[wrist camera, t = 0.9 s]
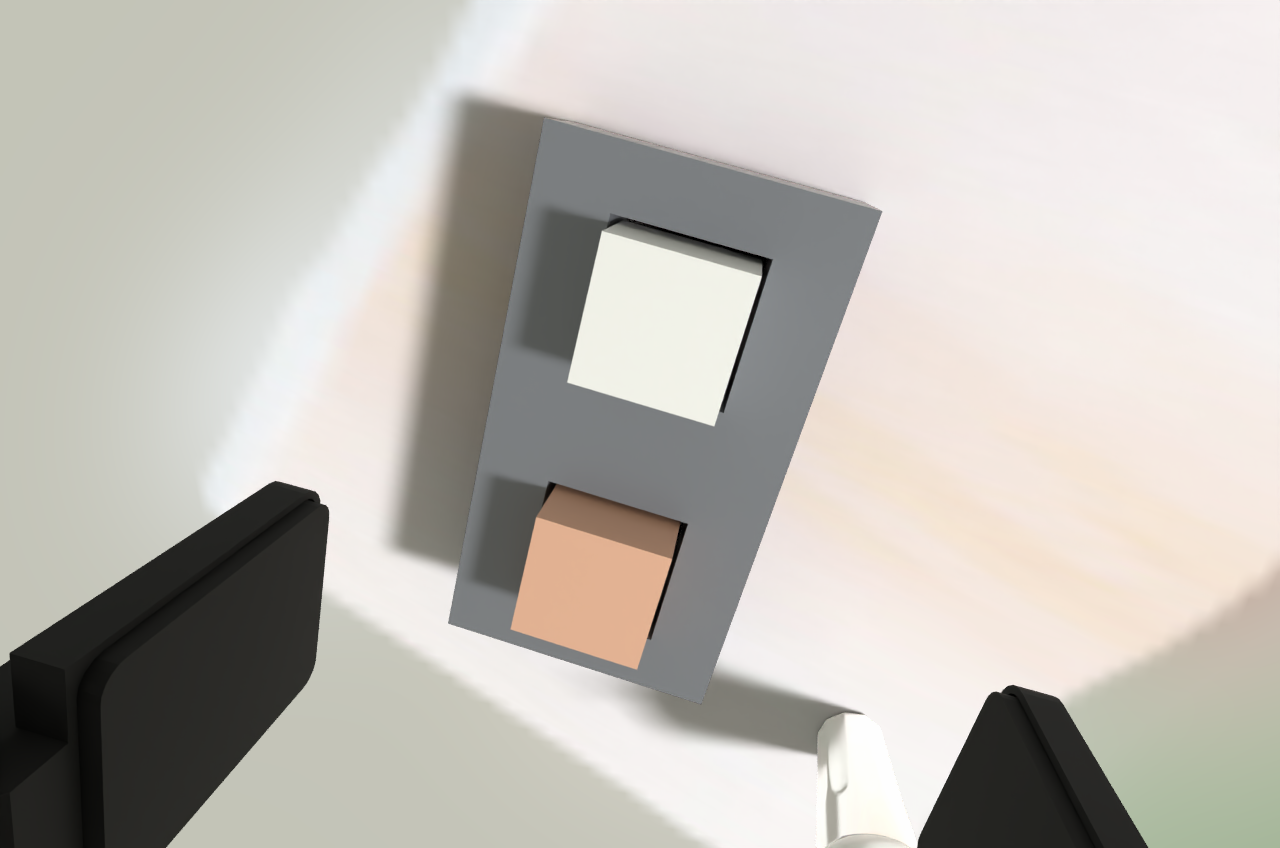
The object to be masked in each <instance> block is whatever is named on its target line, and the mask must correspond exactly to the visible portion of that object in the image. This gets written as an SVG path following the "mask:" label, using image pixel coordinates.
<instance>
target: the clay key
mask: <svg viewBox="0 0 1280 848" xmlns="http://www.w3.org/2000/svg"><path fill="white" fill-rule="evenodd" d="M680 522H681V521H677V520H674V519H671V518H667V517H664V516H661V515H658V514H654V513H651V512H648V511H645V510H641V509H638V508H635V507H632V506H628V505H625V504H622V503H618V502H615V501H612V500H609V499H605V498H602V497H599V496H596V495H592V494H589V493H586V492H583V491H579V490H576V489H573V488H570V487H566V486H563V485H560V484H557V485H556V486H555V488H554V489H553V491H552V493H551V494H550V496H549V497H548V499H547V501H546V502H545V504H544V505H543V507H542V509H541V510H540V512H539V513H538V515H537V517H536V520H535V525H534V529H533V533H532V538H531V542H530V546H529V551H528V555H527V560H526V564H525V568H524V573H523V577H522V581H521V586H520V590H519V594H518V599H517V603H516V607H515V612H514V616H513V621H512V625H511V630H514V631H517V632H520V633H523V634H526V635H530V636H533V637H536V638H539V639H542V640H545V641H548V642H552V643H555V644H558V645H561V646H564V647H567V648H570V649H574V650H577V651H580V652H583V653H586V654H589V655H592V656H595V657H599V658H602V659H605V660H608V661H611V662H614V663H617V664H621V665H624V666H627V667H630V668H633V669H636V670H637V668H638V665H639V662H640V659H641V656H642V652H643V649H644V646H645V643H646V640H647V637H648V633H649V630H650V627H651V624H652V621H653V618H654V615H655V611H656V608H657V605H658V602H659V599H660V596H661V593H662V589H663V586H664V583H665V580H666V577H667V574H668V570H669V567H670V564H671V561H672V557H673V553H674V549H675V544H676V540H677V535H678V531H679V527H680Z"/></svg>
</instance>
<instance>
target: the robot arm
mask: <svg viewBox="0 0 1280 848" xmlns="http://www.w3.org/2000/svg"><path fill="white" fill-rule="evenodd" d="M328 524H329V510H328V507H327V506H326V505H323V504H320V498H319V495H318V494H317V493H316V492H315V491H311V490H308V489H304V488H301V487H297V486H293V485H290V484H286V483H282V482H277V481H274V482H272V483H270V484H268V485H266V486H265V487H263V488H262V489H260V490H259V491H257V492H256V493H254V494H253V495H251V496H250V497H248V498H247V499H245V500H243V501H242V502H240V503H239V504H237V505H236V506H234V507H233V508H231V509H230V510H228V511H227V512H225V513H224V514H222V515H220V516H219V517H217V518H216V519H214V520H213V521H211V522H210V523H208V524H207V525H205V526H204V527H202V528H201V529H199V530H198V531H196V532H195V533H193V534H191V535H190V536H188V537H187V538H185V539H184V540H182V541H181V542H179V543H178V544H176V545H175V546H173V547H172V548H170V549H168V550H167V551H165V552H164V553H162V554H161V555H159V556H158V557H156V558H155V559H153V560H152V561H150V562H149V563H147V564H145V565H144V566H142V567H141V568H139V569H138V570H136V571H135V572H133V573H132V574H130V575H129V576H127V577H125V578H124V579H122V580H121V581H119V582H118V583H116V584H115V585H114V586H112V587H110V588H109V589H107V590H106V591H104V592H103V593H101V594H100V595H98V596H96V597H95V598H93V599H92V600H90V601H89V602H87V603H86V604H84V605H83V606H81V607H79V608H78V609H77V610H75V611H73V612H72V613H70V614H69V615H67V616H66V617H64V618H63V619H61V620H60V621H58V622H56V623H55V624H53V625H52V626H51V627H49V628H48V629H46V630H44V631H43V632H41V633H40V634H38V635H37V636H35V637H33V638H32V639H30V640H29V641H27V642H26V643H24V644H23V645H22V646H20V647H18V648H17V649H15V650H14V651H12V652H10V660H9V661H8V662H6V663H5V664H3V665H2V666H0V848H166V847H167V846H168V845H169V843H170V842H171V841H172V840H173V838H175V836H176V835H177V834H178V833H179V832H180V831H181V829H182V828H183V827H184V826H185V825H186V824H187V822H188V821H189V820H190V819H191V818H192V817H193V815H194V814H195V813H196V812H197V811H198V810H199V808H200V807H201V806H202V805H203V804H204V803H205V801H206V800H207V799H208V798H209V797H210V796H211V795H212V793H213V792H214V791H215V790H216V789H217V788H218V786H219V785H220V784H221V783H222V781H224V779H225V778H226V777H227V776H228V775H229V774H230V772H231V771H232V770H233V769H234V768H235V767H236V766H237V764H238V763H239V762H240V760H242V758H243V757H244V756H245V755H246V754H247V753H248V751H249V750H250V749H251V748H252V747H253V746H254V745H255V743H256V742H257V741H258V740H259V739H260V738H261V736H262V735H263V734H264V733H265V732H266V730H267V729H268V728H269V727H270V726H271V725H272V724H273V722H274V721H275V720H276V719H277V718H278V717H279V716H280V714H281V713H282V712H283V711H284V710H285V708H286V707H287V706H288V705H289V704H290V703H291V702H292V700H293V699H294V698H295V697H296V696H297V694H298V693H299V692H300V691H301V690H302V689H303V687H304V686H305V685H306V683H307V682H308V680H309V678H310V676H311V674H312V671H313V669H314V665H315V661H316V652H317V642H318V630H319V620H320V610H321V599H322V588H323V577H324V567H325V556H326V545H327V535H328ZM917 848H1148V846H1147V845H1146V843H1145V841H1144V840H1143V838H1142V836H1141V835H1140V833H1139V831H1138V830H1137V828H1136V826H1135V825H1134V823H1133V821H1132V820H1131V818H1130V816H1129V815H1128V813H1127V811H1126V810H1125V808H1124V806H1123V805H1122V803H1121V801H1120V799H1119V798H1118V796H1117V794H1116V793H1115V791H1114V789H1113V788H1112V786H1111V784H1110V783H1109V781H1108V779H1107V778H1106V776H1105V774H1104V773H1103V771H1102V769H1101V767H1100V766H1099V764H1098V762H1097V761H1096V759H1095V757H1094V756H1093V754H1092V752H1091V751H1090V749H1089V747H1088V745H1087V744H1086V742H1085V740H1084V739H1083V737H1082V735H1081V734H1080V732H1079V730H1078V729H1077V727H1076V725H1075V724H1074V722H1073V720H1072V719H1071V717H1070V715H1069V713H1068V712H1067V710H1066V708H1065V707H1064V705H1063V704H1062V702H1061V701H1060V700H1059V699H1058V698H1056V697H1054V696H1051V695H1047V694H1044V693H1040V692H1037V691H1033V690H1029V689H1026V688H1022V687H1019V686H1015V685H1011V686H1007V687H1006V688H1005V689H1004V690H1003V691H1002V693H999V692H992V693H991V694H990V695H989V696H988V698H987V699H986V701H985V703H984V705H983V707H982V709H981V711H980V713H979V715H978V717H977V719H976V721H975V723H974V725H973V727H972V729H971V732H970V734H969V736H968V738H967V740H966V742H965V744H964V746H963V748H962V750H961V752H960V754H959V756H958V758H957V760H956V762H955V764H954V766H953V768H952V770H951V773H950V775H949V777H948V779H947V781H946V783H945V785H944V787H943V789H942V791H941V793H940V795H939V797H938V799H937V801H936V803H935V805H934V807H933V809H932V811H931V814H930V816H929V818H928V820H927V822H926V824H925V826H924V828H923V830H922V832H921V834H920V837H919V840H918V845H917Z"/></svg>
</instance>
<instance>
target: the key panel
mask: <svg viewBox="0 0 1280 848" xmlns="http://www.w3.org/2000/svg"><path fill="white" fill-rule="evenodd" d="M881 213H882V211H881V210H879V209H877V208H875V207H873V206H871V205H869V204H867V203H865V202H861V201H858V200H854V199H851V198H847V197H843V196H840V195H836V194H833V193H829V192H825V191H822V190H818V189H815V188H811V187H807V186H804V185H800V184H797V183H793V182H789V181H786V180H782V179H779V178H775V177H771V176H768V175H764V174H761V173H757V172H753V171H750V170H746V169H743V168H739V167H735V166H732V165H728V164H725V163H721V162H717V161H714V160H710V159H707V158H703V157H699V156H696V155H692V154H689V153H685V152H681V151H678V150H674V149H670V148H667V147H663V146H660V145H656V144H652V143H649V142H645V141H642V140H638V139H634V138H631V137H627V136H624V135H620V134H616V133H613V132H609V131H606V130H602V129H598V128H595V127H591V126H588V125H584V124H580V123H577V122H572V121H565V120H558V119H552V118H545V117H544V121H543V126H542V131H541V137H540V142H539V147H538V152H537V158H536V163H535V168H534V173H533V179H532V184H531V189H530V195H529V200H528V205H527V210H526V216H525V221H524V226H523V231H522V237H521V242H520V247H519V253H518V258H517V263H516V268H515V274H514V279H513V284H512V289H511V295H510V300H509V305H508V311H507V316H506V321H505V326H504V332H503V337H502V342H501V347H500V353H499V358H498V363H497V369H496V374H495V379H494V384H493V390H492V395H491V400H490V405H489V411H488V416H487V421H486V426H485V432H484V437H483V442H482V448H481V453H480V458H479V463H478V469H477V474H476V479H475V484H474V490H473V495H472V500H471V506H470V511H469V516H468V521H467V527H466V532H465V537H464V542H463V548H462V553H461V558H460V564H459V569H458V574H457V579H456V585H455V590H454V595H453V600H452V606H451V611H450V616H449V622H448V624H451V625H455V626H458V627H461V628H464V629H467V630H470V631H473V632H476V633H480V634H483V635H486V636H489V637H492V638H495V639H498V640H501V641H505V642H508V643H511V644H514V645H517V646H520V647H523V648H526V649H530V650H533V651H536V652H539V653H542V654H545V655H548V656H551V657H555V658H558V659H561V660H564V661H567V662H570V663H573V664H576V665H580V666H583V667H586V668H589V669H592V670H595V671H598V672H601V673H605V674H608V675H611V676H614V677H617V678H620V679H623V680H626V681H630V682H633V683H636V684H639V685H642V686H645V687H648V688H651V689H655V690H658V691H661V692H664V693H667V694H670V695H673V696H676V697H680V698H683V699H686V700H689V701H692V702H695V703H698V704H701V703H702V701H703V698H704V695H705V693H706V690H707V687H708V684H709V682H710V679H711V676H712V674H713V671H714V668H715V665H716V663H717V660H718V657H719V654H720V652H721V649H722V646H723V644H724V641H725V638H726V635H727V633H728V630H729V627H730V625H731V622H732V619H733V616H734V614H735V611H736V608H737V605H738V603H739V600H740V597H741V595H742V592H743V589H744V586H745V584H746V581H747V578H748V576H749V573H750V570H751V567H752V565H753V562H754V559H755V556H756V554H757V551H758V548H759V546H760V543H761V540H762V537H763V535H764V532H765V529H766V527H767V524H768V521H769V518H770V516H771V513H772V510H773V507H774V505H775V502H776V499H777V497H778V494H779V491H780V488H781V486H782V483H783V480H784V478H785V475H786V472H787V469H788V467H789V464H790V461H791V458H792V456H793V453H794V450H795V448H796V445H797V442H798V439H799V437H800V434H801V431H802V429H803V426H804V423H805V420H806V418H807V415H808V412H809V409H810V407H811V404H812V401H813V399H814V396H815V393H816V390H817V388H818V385H819V382H820V380H821V377H822V374H823V371H824V369H825V366H826V363H827V360H828V358H829V355H830V352H831V350H832V347H833V344H834V341H835V339H836V336H837V333H838V331H839V328H840V325H841V322H842V320H843V317H844V314H845V311H846V309H847V306H848V303H849V301H850V298H851V295H852V292H853V290H854V287H855V284H856V282H857V279H858V276H859V273H860V271H861V268H862V265H863V262H864V260H865V257H866V254H867V252H868V249H869V246H870V243H871V241H872V238H873V235H874V233H875V230H876V227H877V224H878V222H879V219H880V216H881ZM628 218H629V219H632V220H636V221H639V222H643V223H646V224H650V225H653V226H657V227H660V228H664V229H668V230H671V231H675V232H678V233H682V234H685V235H689V236H692V237H696V238H699V239H703V240H706V241H710V242H713V243H717V244H720V245H724V246H727V247H731V248H734V249H738V250H742V251H745V252H749V253H752V254H756V255H759V256H763V257H766V258H767V261H766V265H765V268H764V271H763V274H762V278H761V281H760V284H759V287H758V290H757V293H756V296H755V300H754V303H753V306H752V309H751V312H750V315H749V319H748V322H747V325H746V328H745V331H744V334H743V337H742V341H741V344H740V347H739V350H738V353H737V356H736V359H735V363H734V366H733V369H732V372H731V375H730V378H729V382H728V385H727V388H726V391H725V394H724V397H723V400H722V404H721V407H720V410H719V413H718V416H717V419H716V422H715V426H711V425H708V424H705V423H701V422H698V421H695V420H691V419H688V418H684V417H681V416H678V415H674V414H671V413H668V412H664V411H661V410H658V409H654V408H651V407H648V406H644V405H641V404H637V403H634V402H631V401H627V400H624V399H621V398H617V397H614V396H611V395H607V394H604V393H601V392H597V391H594V390H591V389H587V388H584V387H580V386H577V385H574V384H570V383H567V381H568V377H569V372H570V368H571V364H572V359H573V355H574V351H575V346H576V342H577V338H578V333H579V329H580V324H581V320H582V316H583V311H584V307H585V303H586V298H587V294H588V290H589V285H590V281H591V277H592V272H593V268H594V264H595V259H596V255H597V250H598V246H599V242H600V237H601V233H602V231H603V230H605V229H607V228H609V227H611V226H613V225H615V224H617V223H619V222H621V221H623V220H625V221H627V220H628ZM557 484H560V485H563V486H566V487H570V488H573V489H576V490H579V491H583V492H586V493H589V494H592V495H596V496H599V497H602V498H605V499H609V500H612V501H615V502H618V503H622V504H625V505H628V506H632V507H635V508H638V509H641V510H645V511H648V512H651V513H654V514H658V515H661V516H664V517H667V518H671V519H674V520H677V521H681V522H684V523H683V526H682V529H681V532H680V535H679V539H678V542H677V545H676V548H675V551H674V554H673V557H672V561H671V564H670V567H669V570H668V574H667V577H666V580H665V583H664V586H663V589H662V593H661V596H660V599H659V602H658V605H657V608H656V611H655V615H654V618H653V621H652V624H651V627H650V630H649V633H648V637H647V640H646V643H645V646H644V649H643V652H642V656H641V659H640V662H639V665H638V668H637V670H636V669H633V668H630V667H627V666H624V665H621V664H617V663H614V662H611V661H608V660H605V659H602V658H599V657H595V656H592V655H589V654H586V653H583V652H580V651H577V650H574V649H570V648H567V647H564V646H561V645H558V644H555V643H552V642H548V641H545V640H542V639H539V638H536V637H533V636H530V635H526V634H523V633H520V632H517V631H514V630H511V625H512V621H513V616H514V612H515V607H516V603H517V599H518V594H519V590H520V586H521V581H522V577H523V573H524V568H525V564H526V560H527V555H528V551H529V546H530V542H531V538H532V533H533V529H534V525H535V520H536V517H537V515H538V513H539V512H540V510H541V509H542V507H543V505H544V504H545V502H546V501H547V499H548V497H549V496H550V494H551V493H552V491H553V489H554V488H555V486H556V485H557Z"/></svg>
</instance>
